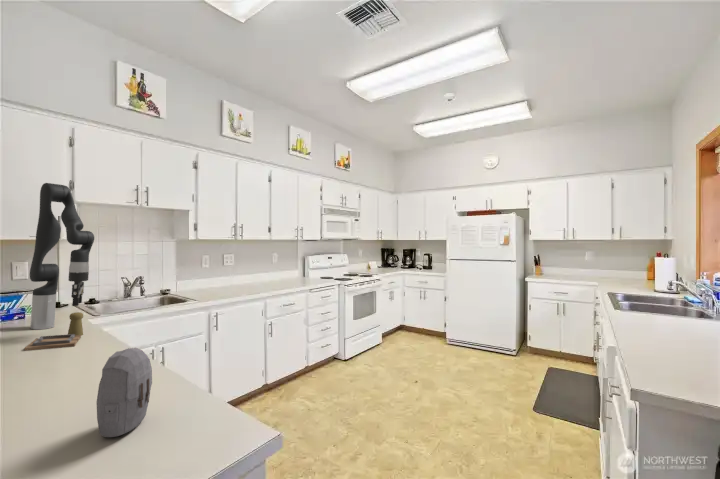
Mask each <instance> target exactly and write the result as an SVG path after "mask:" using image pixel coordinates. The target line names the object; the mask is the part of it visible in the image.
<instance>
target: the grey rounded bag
mask: <svg viewBox="0 0 720 479" xmlns="http://www.w3.org/2000/svg"><path fill="white" fill-rule="evenodd" d="M152 369H153V368H152V364H151V361H150V357H148V355H147V354H146V352H145V351H144V350H143V349H140V348H137V347H128V348H125V349H123V350H117V351H115V352H114V353H113V354H112V355H111V356H109V357H108V359H107V361H106V362H105V364H104V366H103V368H102V370H101V371H102V372H101V378H100V381H99V384H98V389H97V398H96V419H97V425H98V432H99V434H100V435H101V436H102V437H104V438H115V437H119V436H122V435H125V434H127V433H128V432H129V433H130V431H133V430H134V429H135V428H136V427H137V426H139V425H140V424H141V423H142V421H143V420H144V419H145V418H146V416H147V410H148V406H149V403H150V397H151V388H152V385H153V370H152Z"/></svg>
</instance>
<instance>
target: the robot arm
mask: <svg viewBox="0 0 720 479" xmlns="http://www.w3.org/2000/svg"><path fill="white" fill-rule="evenodd" d="M53 202H54V203H62V204H63V205H64V208H63V210H62V212H61V215H60V219H61V221H62V224H63V226H64V228H65V232H66V233H65V234H66V242H68V243H69V244H70V245H72V246H73V245H74V246H77V245H79V246H80V248H78V249H73V250H71V252H70V260H69V261H70V262H69V266H68V281H69V282H73V284H71V298H72V303H71V304H72V305H71V306H73V307H78V306H79V305H80V304H82V302H83V295H84V290H85V289H84V288H85V282H87V281H89V273H90V264H89V262H90V261H89V260H90V253H91V249H92V246H93V245H94V243H95V242H94V241H95V234H94V233H93V232H92V231H90V230H83V229H84V223H83V221H82V219H81V218H80V216H79V214H78V211H77V208H76V204H75V201H74V198H73V194H72V191H71V189H70V187H68V186H67V185H64V184H58V183H50V182H45V183H43V184H42V185H41V186H40V192H39V210H38V211H39V214H38V219H37V220H38V221H37V225H36V226H37V227H36V233H35V244H34V251H33V255H32V260H31V264H30V270H29V279H30V281H31V282H33V283H39V282H40V283H41V282H46V283H45V284H44V285H42V286H40V287H37V288H34V289H33V290H32V298H31V310H30V312H31V313H30V330H45V329H50V328H54V327H55V322H56V321H55V320H56V306H57V305H56V304H57V291H58V285H59V284H58V283H59V276H60V267H59V265H58V264H57V263H43V261H44V259H45V258H46V256H47V254H48V253H49V252H51V250H52V249H53V248H54V247H55V246H56V245H57V244H58V243H59V242H60V238H61V231H62V230H61V229H62V227H61V224H60V222H59V221H58V219H57V218H56V216H55V215H54V213H53V210H52V203H53Z"/></svg>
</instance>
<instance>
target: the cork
mask: <svg viewBox="0 0 720 479" xmlns="http://www.w3.org/2000/svg"><path fill="white" fill-rule="evenodd" d="M83 318H84V314H83V313H82V312H79V311H78V312H77V311H76V312H72V313H70V314H69V320H70V323H69V327H68V329H67V334H75V336H76V335H81V337H82V336H83V335H84V331H83V330H84V328H83V320H82V319H83Z"/></svg>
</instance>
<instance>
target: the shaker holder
mask: <svg viewBox="0 0 720 479" xmlns="http://www.w3.org/2000/svg"><path fill="white" fill-rule="evenodd" d="M81 338H82V336H81V335H76V336H75V334H68V333H67V334H55V335H54V334H53V335H42V336H39V337H37V338H35V339H34V340H33V341H31V342H30V343H28V345H26V346H25V347H24V351H25V352H27V351H36V350H51V349H59V348H60V349H61V348H72V347H75V346H76V345H77V344H78V342H79V341H80V340H81Z"/></svg>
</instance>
